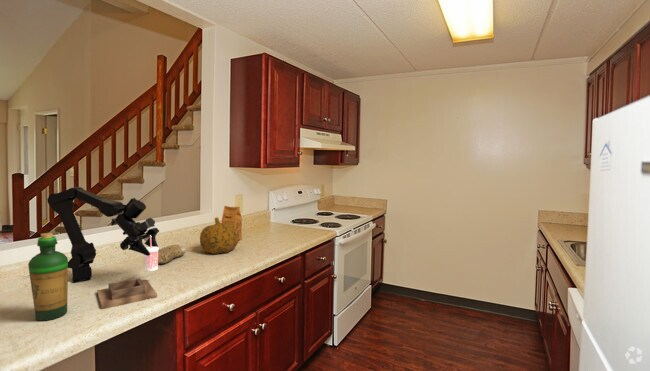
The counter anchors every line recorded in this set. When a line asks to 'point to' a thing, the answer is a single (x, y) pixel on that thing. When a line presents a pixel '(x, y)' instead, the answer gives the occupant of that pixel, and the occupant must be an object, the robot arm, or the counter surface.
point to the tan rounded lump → (170, 253)
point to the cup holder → (125, 293)
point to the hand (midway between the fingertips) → (154, 252)
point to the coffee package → (233, 218)
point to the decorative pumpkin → (219, 238)
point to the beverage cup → (151, 258)
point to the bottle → (49, 279)
